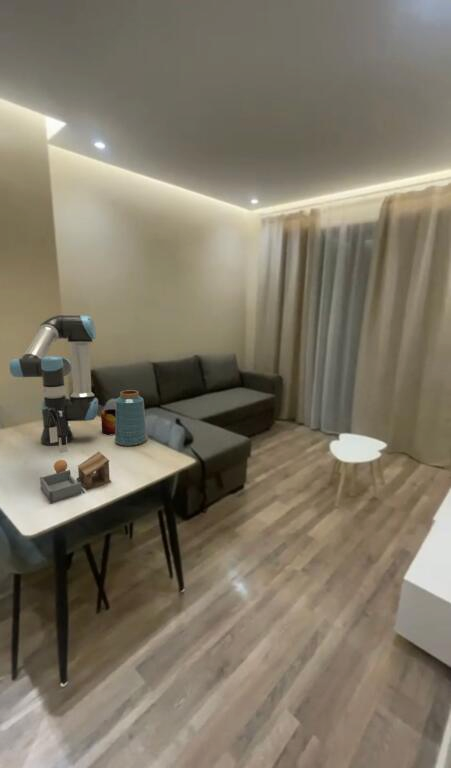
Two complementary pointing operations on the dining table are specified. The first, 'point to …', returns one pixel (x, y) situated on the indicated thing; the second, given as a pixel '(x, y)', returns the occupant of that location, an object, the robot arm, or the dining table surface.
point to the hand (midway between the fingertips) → (58, 447)
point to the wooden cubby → (90, 466)
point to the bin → (60, 486)
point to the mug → (108, 421)
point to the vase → (130, 419)
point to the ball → (60, 466)
